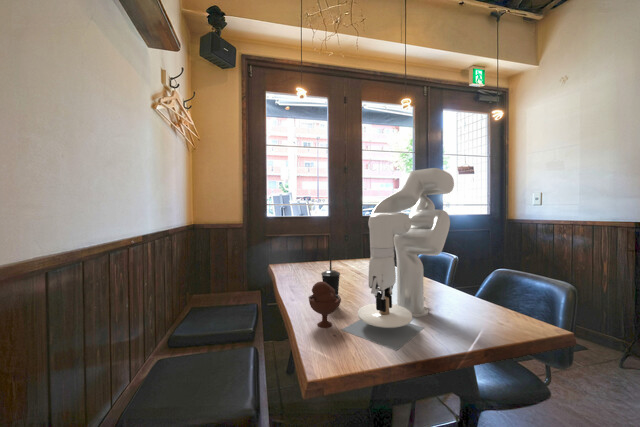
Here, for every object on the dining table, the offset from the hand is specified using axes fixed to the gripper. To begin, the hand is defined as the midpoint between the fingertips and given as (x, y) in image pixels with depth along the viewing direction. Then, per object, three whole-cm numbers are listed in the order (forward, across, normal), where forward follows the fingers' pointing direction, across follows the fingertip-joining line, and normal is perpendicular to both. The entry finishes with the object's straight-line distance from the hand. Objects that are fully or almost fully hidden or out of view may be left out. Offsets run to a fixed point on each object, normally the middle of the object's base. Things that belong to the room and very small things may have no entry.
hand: (384, 308), depth 83 cm
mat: (+7, +1, 0) cm, 7 cm away
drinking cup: (+7, -4, -26) cm, 27 cm away
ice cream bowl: (+6, +11, -16) cm, 21 cm away
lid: (+2, 0, 0) cm, 2 cm away
